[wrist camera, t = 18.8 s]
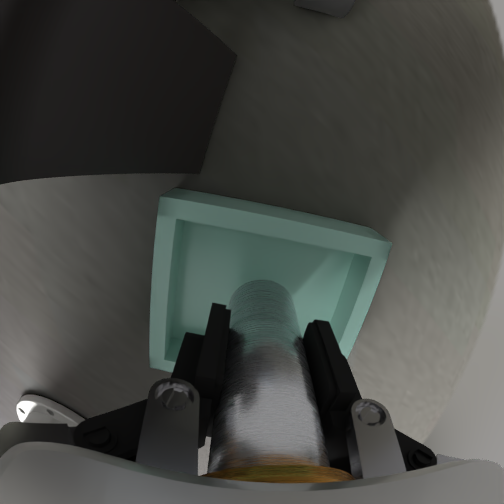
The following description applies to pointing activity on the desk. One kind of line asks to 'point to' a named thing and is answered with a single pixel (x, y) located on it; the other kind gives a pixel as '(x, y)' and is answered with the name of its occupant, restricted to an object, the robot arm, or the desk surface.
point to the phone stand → (106, 88)
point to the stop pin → (268, 396)
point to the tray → (256, 266)
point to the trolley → (327, 6)
